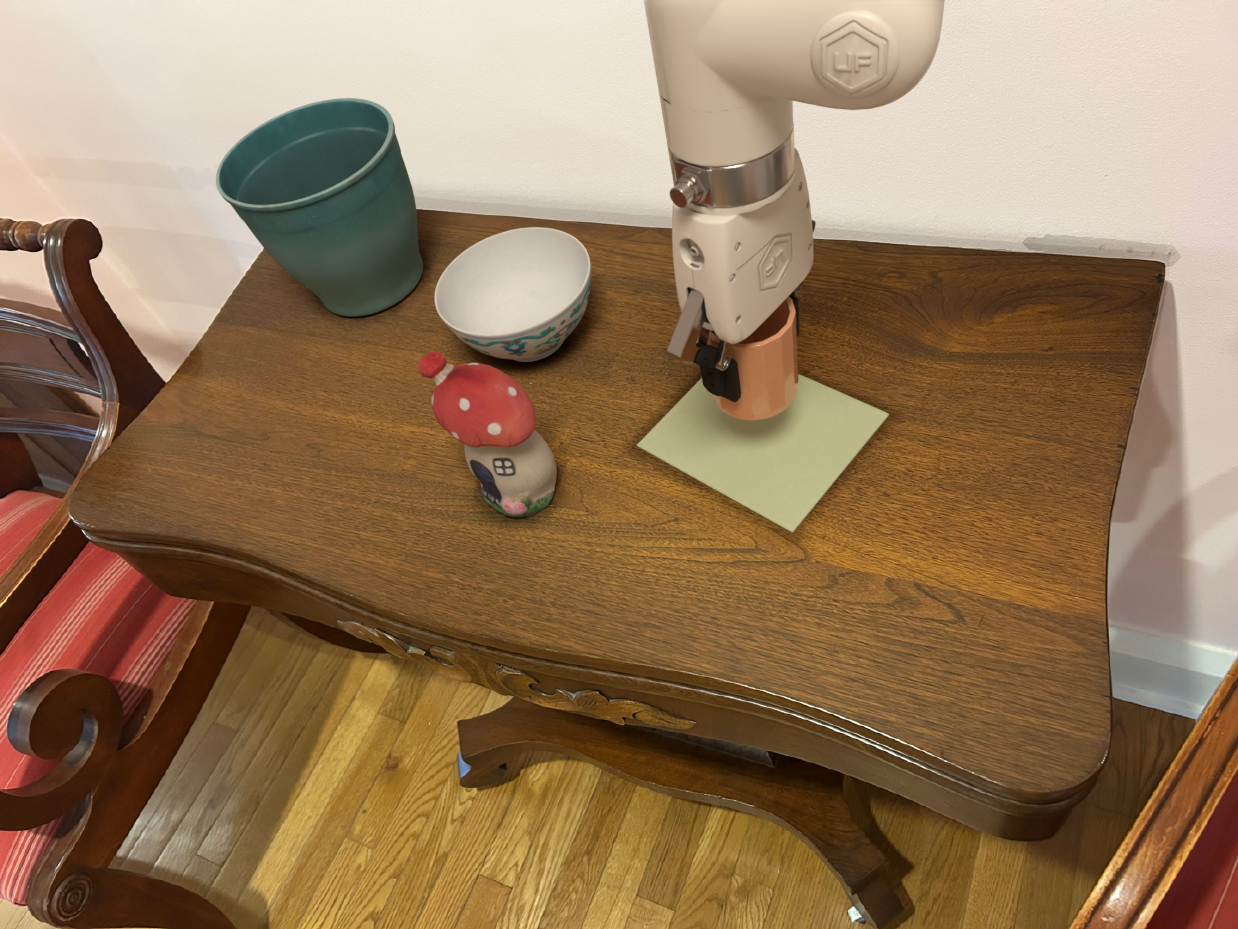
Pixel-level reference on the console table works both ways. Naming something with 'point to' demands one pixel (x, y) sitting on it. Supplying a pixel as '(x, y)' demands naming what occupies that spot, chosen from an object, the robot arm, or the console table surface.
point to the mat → (767, 448)
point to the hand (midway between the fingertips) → (751, 360)
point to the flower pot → (330, 202)
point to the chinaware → (516, 292)
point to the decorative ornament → (494, 433)
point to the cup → (765, 367)
